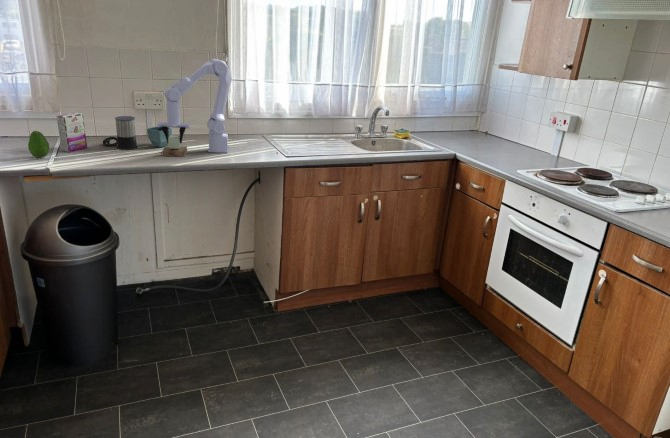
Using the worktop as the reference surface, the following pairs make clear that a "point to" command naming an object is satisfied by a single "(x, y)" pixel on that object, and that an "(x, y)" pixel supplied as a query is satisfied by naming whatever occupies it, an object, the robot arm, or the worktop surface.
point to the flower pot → (158, 136)
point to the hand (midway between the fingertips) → (174, 142)
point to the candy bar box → (72, 132)
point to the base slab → (175, 151)
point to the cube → (174, 142)
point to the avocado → (38, 144)
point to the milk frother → (124, 133)
